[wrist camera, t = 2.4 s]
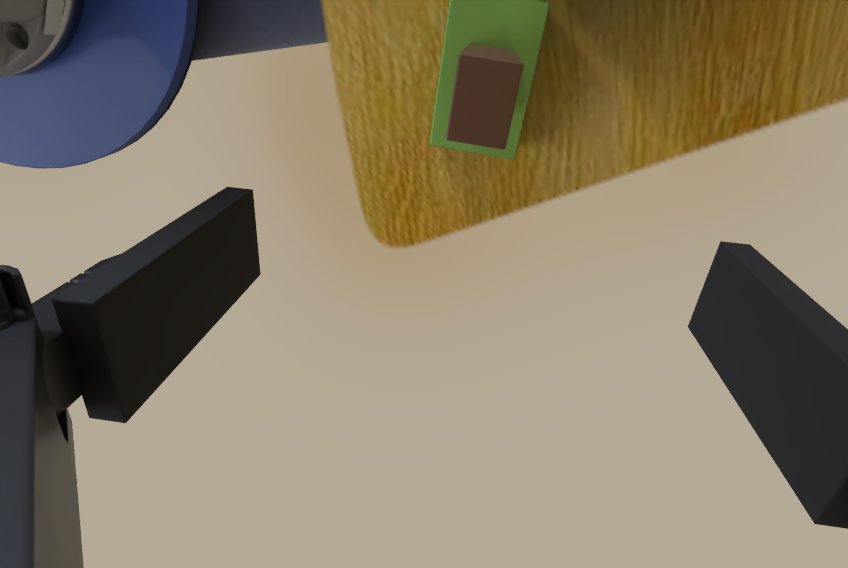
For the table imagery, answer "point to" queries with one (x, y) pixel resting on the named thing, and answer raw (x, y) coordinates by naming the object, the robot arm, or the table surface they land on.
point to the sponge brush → (487, 74)
